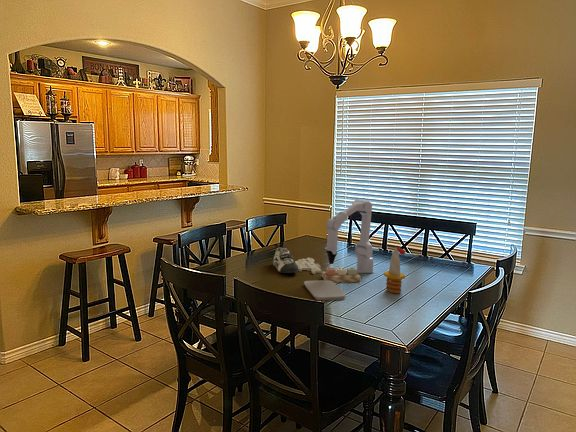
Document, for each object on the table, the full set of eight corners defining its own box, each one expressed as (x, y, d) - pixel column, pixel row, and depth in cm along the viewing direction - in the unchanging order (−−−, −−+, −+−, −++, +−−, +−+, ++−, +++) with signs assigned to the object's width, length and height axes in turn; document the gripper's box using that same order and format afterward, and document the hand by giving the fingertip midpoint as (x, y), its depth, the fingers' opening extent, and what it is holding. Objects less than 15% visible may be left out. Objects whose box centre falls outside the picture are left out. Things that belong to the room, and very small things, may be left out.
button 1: (354, 272, 253) (354, 267, 252) (356, 275, 248) (356, 269, 248) (346, 272, 252) (346, 267, 252) (348, 275, 248) (348, 269, 247)
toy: (411, 264, 215) (391, 245, 224) (390, 299, 227) (372, 279, 237) (422, 262, 220) (403, 243, 229) (401, 296, 233) (383, 277, 242)
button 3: (333, 272, 251) (334, 267, 251) (335, 275, 247) (335, 269, 246) (326, 272, 251) (326, 267, 250) (327, 275, 246) (328, 269, 246)
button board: (355, 276, 256) (355, 271, 256) (360, 281, 246) (360, 276, 246) (321, 276, 254) (322, 271, 253) (325, 281, 244) (325, 276, 244)
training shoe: (284, 277, 250) (284, 255, 248) (267, 264, 277) (267, 244, 275) (301, 276, 254) (302, 254, 252) (283, 263, 281) (283, 243, 279)
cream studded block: (343, 272, 252) (344, 267, 251) (345, 275, 248) (346, 269, 247) (336, 272, 251) (336, 267, 251) (338, 275, 247) (338, 269, 247)
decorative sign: (290, 258, 286) (312, 257, 289) (290, 261, 286) (312, 260, 289) (301, 271, 256) (325, 271, 259) (300, 275, 257) (325, 274, 260)
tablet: (330, 283, 242) (331, 279, 242) (347, 300, 217) (347, 296, 217) (302, 285, 239) (302, 281, 238) (315, 302, 214) (316, 297, 213)
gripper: (322, 237, 252) (321, 260, 255) (327, 243, 238) (326, 267, 240) (334, 237, 253) (333, 260, 255) (340, 243, 239) (339, 267, 241)
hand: (331, 263), depth 248 cm, fingers closed
